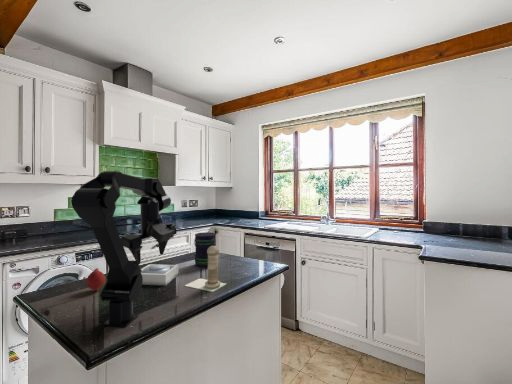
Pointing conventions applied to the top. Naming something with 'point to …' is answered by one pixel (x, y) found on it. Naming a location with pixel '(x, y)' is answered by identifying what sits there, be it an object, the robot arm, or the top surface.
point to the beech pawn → (212, 268)
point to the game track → (202, 285)
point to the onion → (95, 280)
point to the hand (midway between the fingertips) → (150, 258)
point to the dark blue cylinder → (203, 248)
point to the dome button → (157, 269)
